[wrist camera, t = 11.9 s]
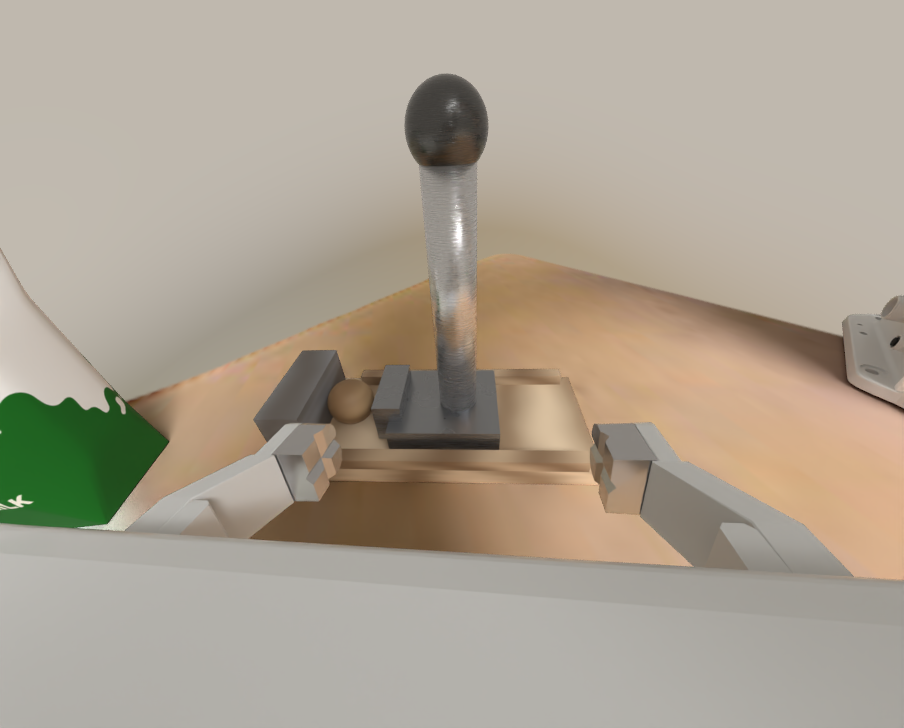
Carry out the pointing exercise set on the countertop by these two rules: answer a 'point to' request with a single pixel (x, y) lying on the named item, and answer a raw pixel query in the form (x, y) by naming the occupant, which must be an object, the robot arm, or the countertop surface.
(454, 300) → the ball-top joystick lever
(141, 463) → the milk carton
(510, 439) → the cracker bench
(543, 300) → the countertop surface
